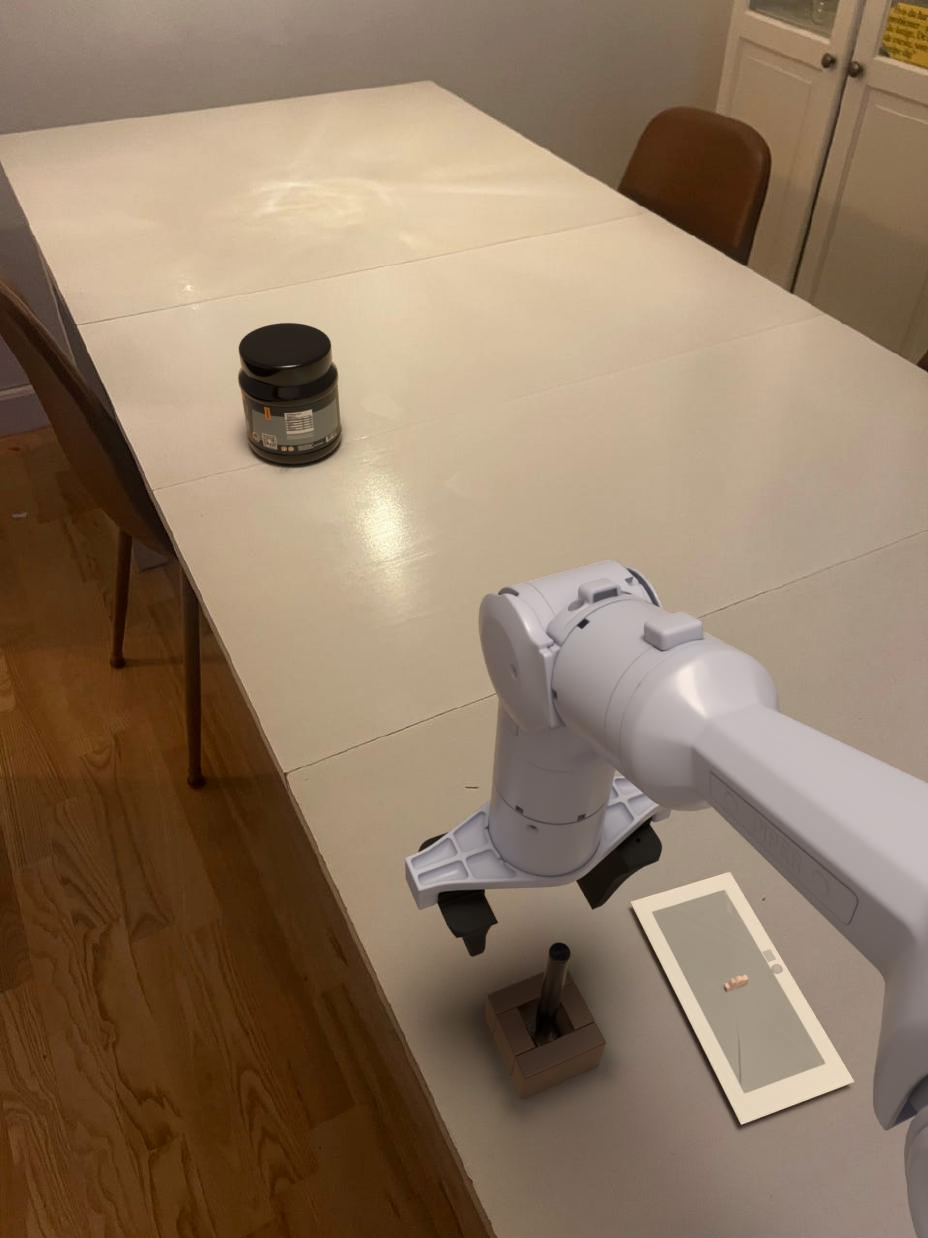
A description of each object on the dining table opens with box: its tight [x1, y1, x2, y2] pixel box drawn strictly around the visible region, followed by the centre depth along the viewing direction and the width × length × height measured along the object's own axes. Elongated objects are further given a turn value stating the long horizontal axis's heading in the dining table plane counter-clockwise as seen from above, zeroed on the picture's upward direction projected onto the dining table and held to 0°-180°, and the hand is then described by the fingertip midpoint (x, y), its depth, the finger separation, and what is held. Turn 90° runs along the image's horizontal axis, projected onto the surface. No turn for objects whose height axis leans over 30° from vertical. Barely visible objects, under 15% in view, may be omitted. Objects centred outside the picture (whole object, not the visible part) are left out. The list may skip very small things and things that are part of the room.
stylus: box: [532, 941, 572, 1047], centre depth 55 cm, size 1×1×12 cm
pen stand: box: [484, 968, 607, 1100], centre depth 58 cm, size 5×5×4 cm
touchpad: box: [630, 871, 855, 1126], centre depth 61 cm, size 8×15×2 cm, turn 18°
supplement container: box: [237, 322, 343, 465], centre depth 102 cm, size 10×10×12 cm
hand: (530, 916), depth 55 cm, fingers open, 7 cm apart
